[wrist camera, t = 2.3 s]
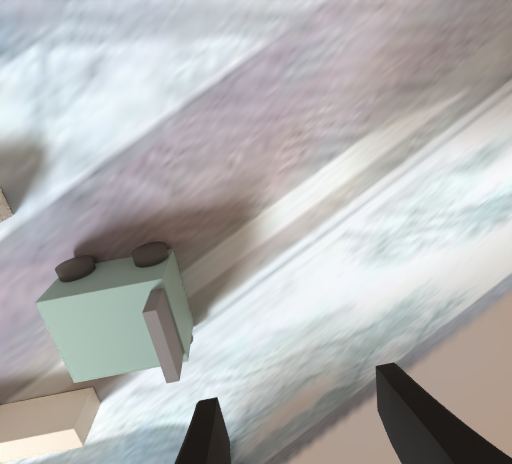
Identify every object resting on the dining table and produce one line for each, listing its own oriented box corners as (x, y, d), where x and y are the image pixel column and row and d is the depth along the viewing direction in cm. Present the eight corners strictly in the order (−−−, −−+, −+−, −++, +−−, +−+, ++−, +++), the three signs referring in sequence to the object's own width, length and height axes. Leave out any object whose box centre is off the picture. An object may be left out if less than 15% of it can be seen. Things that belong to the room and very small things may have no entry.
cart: (170, 238, 19) (151, 287, 14) (195, 328, 21) (187, 397, 16) (63, 258, 19) (5, 315, 14) (101, 346, 21) (63, 421, 16)
